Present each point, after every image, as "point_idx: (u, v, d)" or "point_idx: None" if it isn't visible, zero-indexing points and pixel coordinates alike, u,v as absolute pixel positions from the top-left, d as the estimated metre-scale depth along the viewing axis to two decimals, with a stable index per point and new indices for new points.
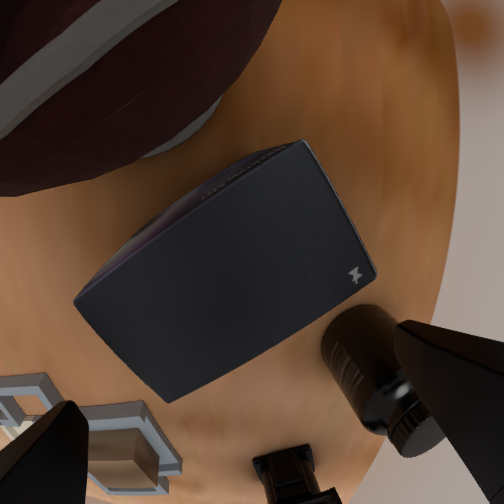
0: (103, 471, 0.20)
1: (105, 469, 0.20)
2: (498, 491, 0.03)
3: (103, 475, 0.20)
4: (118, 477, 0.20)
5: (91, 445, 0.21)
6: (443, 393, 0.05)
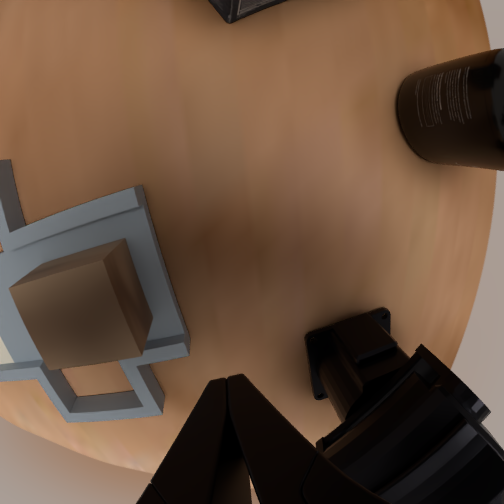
0: (46, 314, 0.12)
1: (50, 306, 0.12)
2: None
3: (47, 328, 0.12)
4: (72, 330, 0.13)
5: (40, 270, 0.14)
6: None
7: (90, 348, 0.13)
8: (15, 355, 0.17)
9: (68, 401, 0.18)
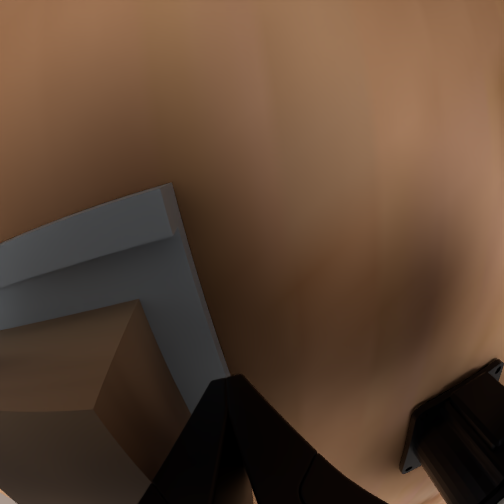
0: (0, 462, 0.04)
1: (2, 455, 0.04)
2: None
3: (9, 478, 0.04)
4: (55, 494, 0.04)
5: None
6: None
7: None
8: None
9: None
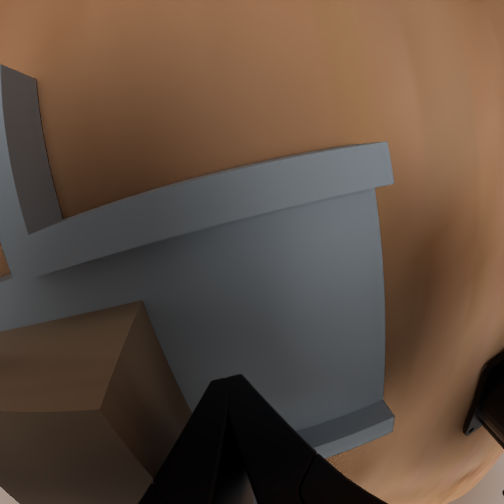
0: (3, 462, 0.04)
1: (6, 455, 0.04)
2: None
3: (12, 478, 0.04)
4: (59, 493, 0.04)
5: None
6: None
7: None
8: None
9: None
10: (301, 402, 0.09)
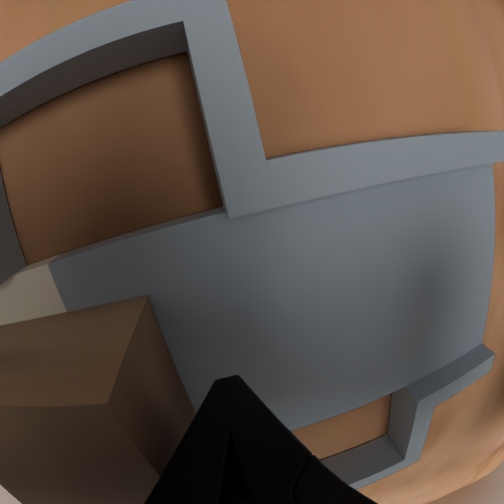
0: (2, 458, 0.04)
1: (6, 451, 0.04)
2: None
3: (11, 474, 0.04)
4: (59, 491, 0.04)
5: None
6: None
7: None
8: None
9: None
10: (437, 344, 0.10)
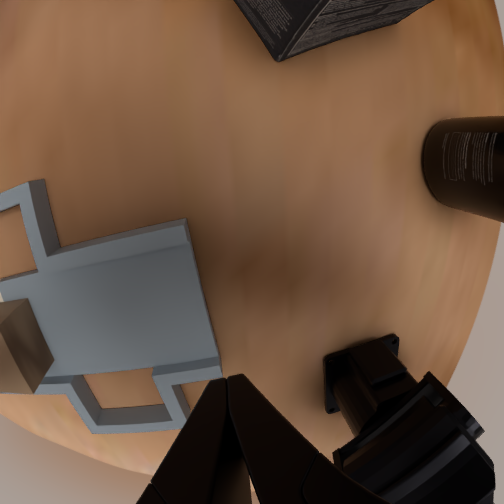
0: None
1: None
2: None
3: None
4: None
5: None
6: None
7: (2, 381, 0.13)
8: None
9: (95, 414, 0.19)
10: (166, 346, 0.19)
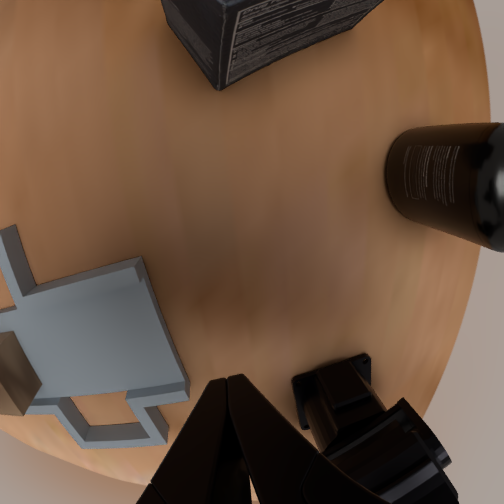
0: None
1: None
2: None
3: None
4: None
5: None
6: None
7: None
8: None
9: (82, 431, 0.20)
10: (136, 372, 0.19)
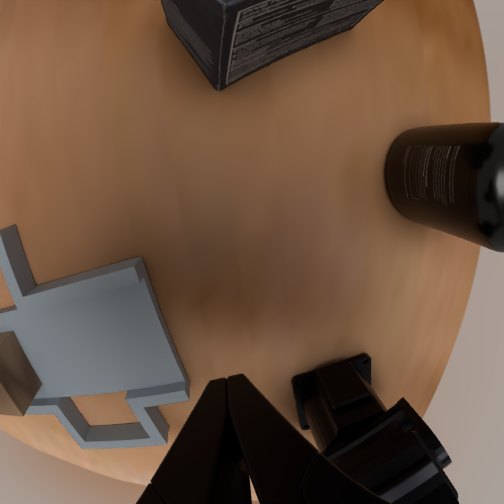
0: None
1: None
2: None
3: None
4: None
5: None
6: None
7: None
8: None
9: (82, 431, 0.20)
10: (136, 372, 0.19)
